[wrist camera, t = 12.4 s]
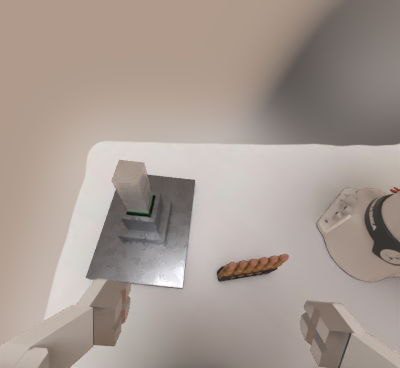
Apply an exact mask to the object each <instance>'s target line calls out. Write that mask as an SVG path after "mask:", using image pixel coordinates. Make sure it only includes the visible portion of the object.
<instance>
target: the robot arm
mask: <svg viewBox="0 0 400 368" xmlns="http://www.w3.org/2000/svg"><path fill="white" fill-rule="evenodd" d="M394 189H396V190H397V191H396V190H392V189H391V190H390V191H392V192H393V193H395V194H390V195H389V194H387V193H384V192H382V191H380V190H377V189H373V188H364V189H362V190H357V189H353V188H346V189H344V190H343V191H342V192H341V193H340V195H339V196H338V197H337V198H336V199H335V201H334V202H333V203H332V204H331V206H330V207H329V208H328V209H327V210H326V212H325V213H324V214H323V215H322V217H321V218H320V219H319V220H318V221H317V227H318V229H319V230H320V232H321V233H322V235H323V236H324V239H325V242H326V246H327V249H328V251H329V253H330V255H331V256H332V258H333V259H334V261H335V262H336V263H337V264H338V265H339V266H340V267H341V268H342V269H343V270H344V271H345V272H347V273H348V274H349V275H351V276H353V277H355V278H357V279H360V280H363V281H368V282H376V281H380V280H382V279H384V278H386V277H389V276H390V277H400V189H398V188H395V187H394ZM325 221H326V222H325ZM130 290H131V283H130V282H124V281H116V280H107V279H99V278H98V279H96V280H95V281H94V282H93V283H92V285H91V286H90V287H89V289H88V290H87V291H86V293H85V294H84V295H83V297H82V298H81V299H80V301H79V302H78V303H77V305H72V306H70V307H68V308H66V309H65V310H63V311H61V312H59V313H57V314H56V315H54V316H52V317H50V318H48V319H47V320H45V321H43V322H41V323H40V324H38V325H36V326H34V327H32V328H30V329H29V330H27V331H25V332H23V333H21V334H19V335H18V336H16V337H14V338H12V339H10V340H9V341H7V342H5V343H4V344H3V345H2V346H1V347H0V368H70V367H71V366H72V365H73V364H74V363H75V362H77V361H78V360H79V359H80V358H81V357H82V356H83V355H84V354H85V353H86V352H88V351H89V350H90V349H91V348H92V347H93V345H103V346H115V344H116V342H117V340H118V337H119V335H120V332H121V324H123V323H124V322H125V320H126V318H127V315H128V311H129V307H130V297H129V296H128V295H129V292H130ZM304 309H305V311H306V312H305V313H304V314H303V315H302V316H301V321H300V326H301V331H302V335H303V337H304V339H305V340H306V341H307V342H308V343H309V344H310V345H311V348H310V351H311V353H312V355H313V357H314V359H315V361H316V363H317V365H318V367H326V368H400V354H399V353H397V352H396V351H394V350H393V349H391V348H390V347H388V346H387V345H385V344H384V343H382V342H381V341H379V340H378V339H376V338H375V337H373V336H372V335H367V333H366V332H365V331H364V330H363V329H362V327H361V326H360V325H359V324H358V322H357V321H356V320H355V319H354V318H353V316H352V315H351V314H350V313H349V312H348V310H347V309H346V308H345V307H344V305H342V304H341V303H332V302H329V303H328V302H318V301H308V300H307V301H306V302H305V305H304Z"/></svg>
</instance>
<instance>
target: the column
mask: <svg viewBox="0 0 400 368" xmlns="http://www.w3.org/2000/svg"><path fill="white" fill-rule="evenodd" d="M112 183H113V185H114V187H115V188H116V190H117V192H118V194H119V196H120V198H121V199H122V201H123V203H124V205H125V207H126V209H127V210H128V213H129V214H130V215H133V216H142V217H151V215H152V210H153V206H154V197H153V194H152V191H151V187H150V183H149V179H148V175H147V171H146V168H145V164H144V163H142V162H133V161H124V160H119V162H118V165H117V167H116V170H115V173H114V176H113V178H112Z"/></svg>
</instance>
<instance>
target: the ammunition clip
mask: <svg viewBox="0 0 400 368" xmlns="http://www.w3.org/2000/svg"><path fill="white" fill-rule="evenodd" d="M288 257H289V255H287V254H283V255H280V256H271V257H269V258H266V257H263V258H261V259H258V260H257V259H252V260H250V261H247V262H246V261H240V262H239V263H236V264H235V263H234V262H231V263H229V264H227V265H226V266H224V267H221V268H220V269H219V270H218V271H217V275H218V281H225V280H231V279H237V278H244V277H250V276H256V275H262V274H268V273H270V272H272V271H274V270H276V269H277V267H279V266H281V265H282V263H284V262H285V261H286V260H287V259H288Z"/></svg>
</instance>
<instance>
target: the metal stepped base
mask: <svg viewBox="0 0 400 368" xmlns="http://www.w3.org/2000/svg"><path fill="white" fill-rule="evenodd" d="M148 179H149V183H150V187H151V191H152V194H153V197H154V206H153V210H152V215H151V217H142V216H133V215H130V214H129V213H128V210H127V209H126V207H125V205H124V203H123V201H122V199H121V198H120V196H119V194H118V192H117V190H116V191H115V194H114V197H113V200H112V203H111V206H110V209H109V212H108V214H107V217H106V220H105V223H104V226H103V229H102V232H101V235H100V238H99V241H98V244H97V247H96V250H95V252H94V255H93V258H92V261H91V264H90V267H89V270H88V273H87V276H86V278H88V279H95V280H96V279H98V278H99V279H107V280H116V281H124V282H130V283H133V284H143V285H152V286H162V287H172V288H181V289H182V287H183V279H184V270H185V262H186V254H187V245H188V237H189V228H190V220H191V211H192V203H193V194H194V186H195V180H190V179H181V178H172V177H163V176H154V175H148Z"/></svg>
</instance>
